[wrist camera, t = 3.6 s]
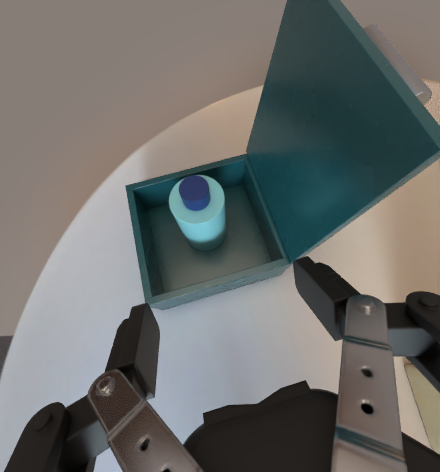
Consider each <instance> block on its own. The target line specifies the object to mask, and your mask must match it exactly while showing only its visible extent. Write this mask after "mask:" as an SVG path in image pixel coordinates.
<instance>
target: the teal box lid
mask: <svg viewBox="0 0 440 472" xmlns="http://www.w3.org/2000/svg"><path fill="white" fill-rule="evenodd" d="M431 96H432V91H431V90H430V89H429V88H428V87H427V85H426V84H425V83H424V82H423V81H422V79H421V78H420V77H419V76H418V74H417V73H416V72H415V71H414V70H413V69H412V67H411V66H410V65H409V64H408V62H407V61H406V60H405V59H404V58H403V56H402V55H401V54H400V53H399V52H398V50H397V49H396V48H395V47H394V46H393V45H392V43H391V42H390V41H389V40H388V38H387V37H386V36H385V35H384V34H383V33H382V31H381V30H380V29H379V28H378V26H377V25H374V24H372V25H368V26H366V27H365V28H362V27H361V26H360V25H359V23H358V22H357V21H356V20H355V18H354V17H353V16H352V15H351V13H350V12H349V11H348V10H347V8H346V7H345V6H344V5H343V3H342V2H341V1H340V0H287V3H286V6H285V10H284V14H283V17H282V21H281V25H280V28H279V32H278V36H277V39H276V43H275V47H274V50H273V54H272V58H271V61H270V65H269V69H268V72H267V76H266V80H265V83H264V87H263V91H262V94H261V98H260V102H259V105H258V109H257V113H256V116H255V120H254V124H253V128H252V131H251V135H250V139H249V142H248V146H247V150H246V152H247V154H248V157H249V159H250V162H251V164H252V167H253V169H254V172H255V174H256V177H257V179H258V182H259V184H260V187H261V189H262V192H263V194H264V197H265V199H266V202H267V204H268V207H269V209H270V212H271V214H272V217H273V219H274V222H275V224H276V227H277V229H278V232H279V234H280V237H281V239H282V242H283V244H284V247H285V249H286V251H287V254H288V256H289V259H290V261H291V263H292V262H293V261H294V260H296V259H299V258H303V257H304V256H305V255H307V254H308V253H310V252H311V251H312V250H314V249H315V248H316V247H318V246H319V245H321V244H322V243H323V242H325V241H326V240H327V239H329V238H330V237H332V236H333V235H334V234H336V233H337V232H339V231H340V230H341V229H343V228H344V227H345V226H347V225H348V224H350V223H351V222H352V221H354V220H355V219H356V218H358V217H359V216H361V215H362V214H363V213H365V212H366V211H367V210H369V209H370V208H372V207H373V206H374V205H376V204H377V203H379V202H380V201H381V200H383V199H384V198H385V197H387V196H388V195H390V194H391V193H392V192H394V191H395V190H396V189H398V188H399V187H401V186H402V185H403V184H405V183H406V182H407V181H409V180H410V179H412V178H413V177H414V176H416V175H417V174H419V173H420V172H421V171H423V170H424V169H425V168H427V167H428V166H430V165H431V164H432V163H434V162H435V161H436V160H438V159H439V158H440V126H439V124H438V123H437V122H436V121H435V119H434V118H433V117H432V116H431V114H430V113H429V112H428V110H427V109H426V108H425V107H424V104H425V103H427V101H428V100H429V99H430V98H431Z"/></svg>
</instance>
